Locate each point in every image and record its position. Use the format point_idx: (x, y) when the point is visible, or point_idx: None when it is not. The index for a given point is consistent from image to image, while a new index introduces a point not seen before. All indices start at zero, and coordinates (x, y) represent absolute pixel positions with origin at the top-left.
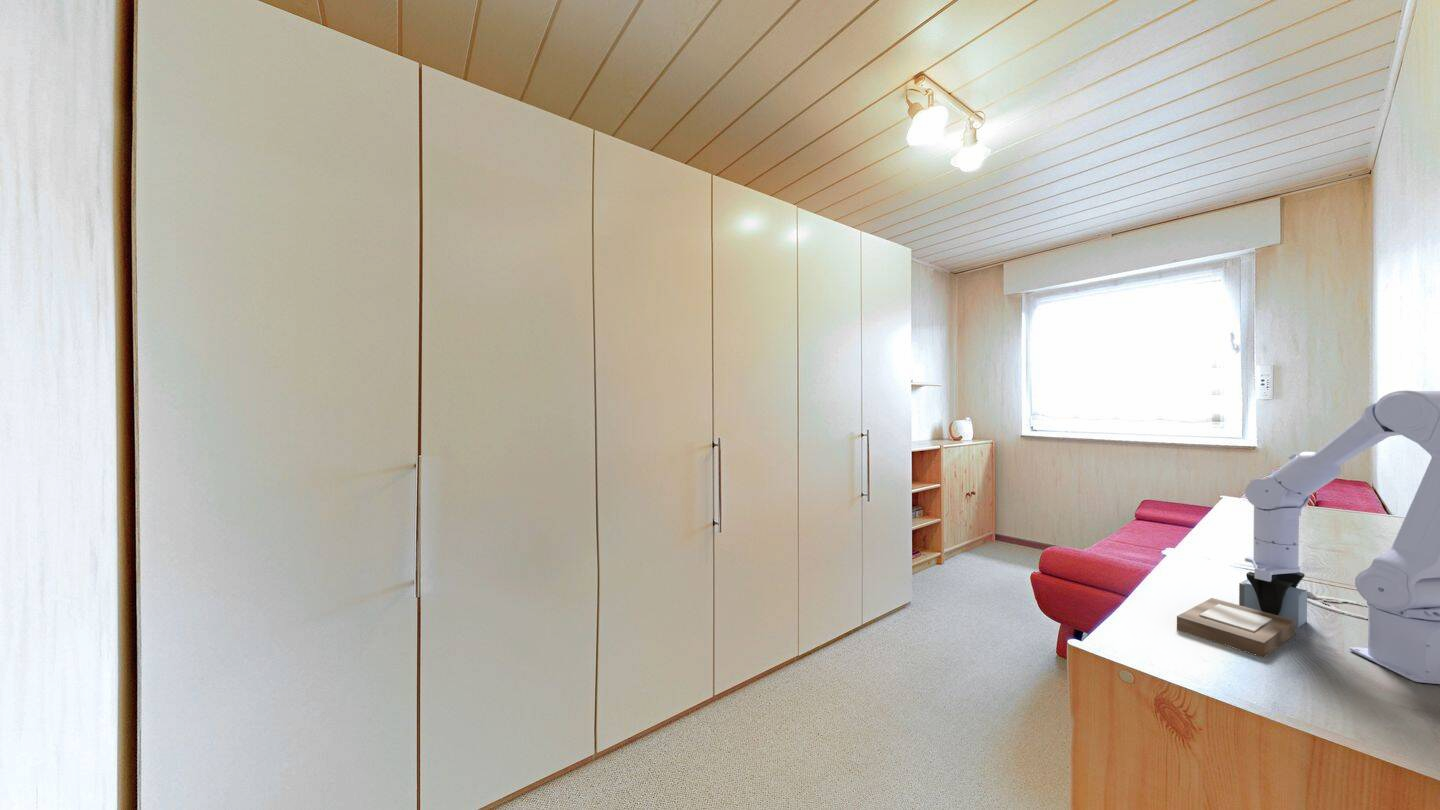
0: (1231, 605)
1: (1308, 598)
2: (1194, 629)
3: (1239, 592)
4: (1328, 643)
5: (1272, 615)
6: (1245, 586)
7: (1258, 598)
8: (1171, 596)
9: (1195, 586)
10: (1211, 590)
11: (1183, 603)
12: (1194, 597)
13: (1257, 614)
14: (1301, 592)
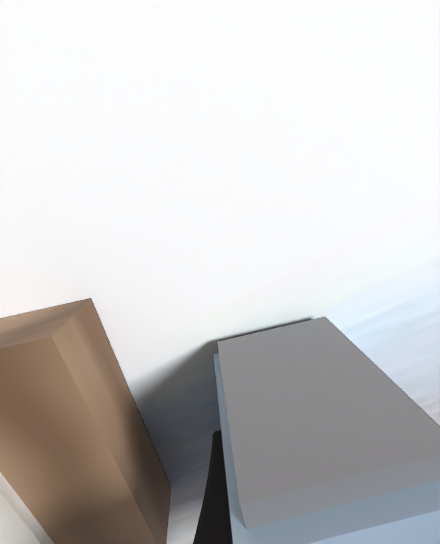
0: (51, 432)
1: None
2: None
3: (229, 416)
4: (190, 528)
5: (127, 525)
6: (232, 520)
7: (201, 509)
8: (53, 71)
9: (435, 7)
10: (432, 108)
11: (19, 187)
12: (197, 146)
13: (66, 513)
14: None
